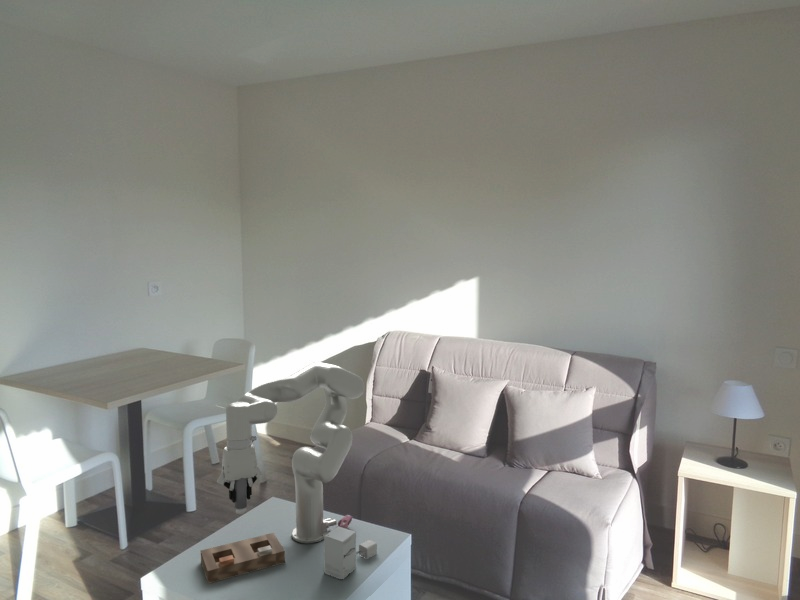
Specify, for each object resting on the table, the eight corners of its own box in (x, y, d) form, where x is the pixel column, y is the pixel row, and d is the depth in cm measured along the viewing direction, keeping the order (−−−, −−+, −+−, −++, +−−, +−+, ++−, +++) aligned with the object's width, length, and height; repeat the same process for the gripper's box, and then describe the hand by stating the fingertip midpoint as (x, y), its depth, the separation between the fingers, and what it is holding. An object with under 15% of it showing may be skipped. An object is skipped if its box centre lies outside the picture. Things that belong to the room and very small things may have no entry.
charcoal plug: (245, 508, 185) (244, 471, 184) (249, 513, 181) (248, 476, 180) (232, 511, 183) (232, 474, 182) (236, 516, 179) (235, 478, 178)
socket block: (273, 543, 200) (273, 528, 199) (285, 562, 189) (284, 546, 188) (201, 562, 189) (200, 546, 188) (208, 583, 177) (207, 566, 177)
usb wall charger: (376, 554, 193) (376, 543, 193) (361, 563, 188) (361, 551, 188) (368, 550, 196) (368, 538, 196) (353, 558, 191) (353, 547, 191)
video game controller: (340, 544, 203) (349, 527, 202) (329, 537, 203) (337, 521, 202) (348, 529, 212) (356, 514, 211) (337, 523, 213) (345, 508, 212)
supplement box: (342, 580, 179) (342, 542, 177) (323, 573, 183) (323, 535, 181) (356, 569, 185) (356, 531, 183) (338, 562, 189) (337, 525, 187)
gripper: (262, 434, 187) (263, 489, 189) (208, 443, 179) (210, 500, 181) (269, 441, 181) (270, 498, 183) (214, 451, 173) (215, 510, 174)
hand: (240, 498), depth 182 cm, fingers closed on charcoal plug, 4 cm apart
